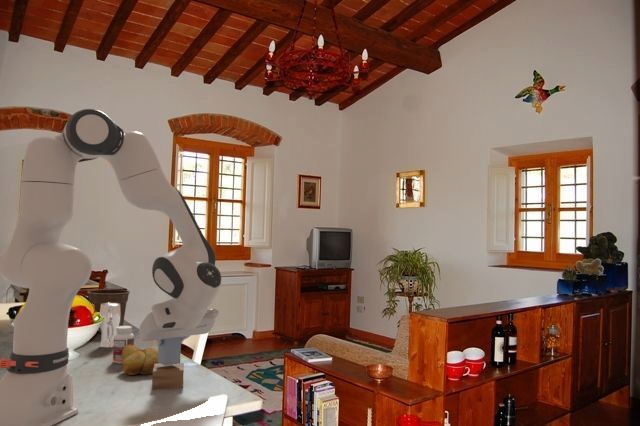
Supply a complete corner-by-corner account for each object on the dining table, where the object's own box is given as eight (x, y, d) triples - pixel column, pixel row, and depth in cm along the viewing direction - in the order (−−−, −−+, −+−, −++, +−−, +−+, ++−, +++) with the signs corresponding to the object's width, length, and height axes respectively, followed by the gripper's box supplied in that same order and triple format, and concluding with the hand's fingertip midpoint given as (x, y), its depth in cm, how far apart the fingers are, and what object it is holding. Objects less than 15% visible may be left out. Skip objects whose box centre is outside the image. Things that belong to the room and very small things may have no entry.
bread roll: (166, 367, 161) (167, 341, 161) (166, 375, 152) (167, 348, 152) (121, 369, 157) (122, 342, 158) (119, 378, 148) (120, 350, 148)
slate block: (180, 363, 144) (181, 330, 144) (164, 365, 141) (166, 332, 141) (172, 359, 147) (173, 327, 147) (157, 362, 144) (158, 329, 144)
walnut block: (182, 388, 141) (183, 370, 141) (151, 390, 139) (152, 371, 139) (183, 380, 149) (183, 362, 149) (154, 381, 147) (154, 363, 147)
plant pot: (121, 325, 225) (122, 288, 225) (134, 331, 212) (135, 292, 213) (81, 329, 215) (82, 289, 215) (92, 336, 202) (93, 294, 203)
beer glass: (98, 344, 188) (99, 303, 189) (118, 343, 191) (120, 302, 192) (98, 348, 182) (100, 305, 182) (119, 347, 185) (121, 305, 185)
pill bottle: (129, 358, 170) (130, 324, 170) (136, 362, 165) (137, 327, 166) (109, 360, 166) (111, 326, 167) (116, 365, 161) (117, 329, 162)
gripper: (216, 299, 146) (198, 329, 153) (146, 305, 133) (130, 337, 139) (224, 318, 143) (205, 347, 150) (153, 325, 129) (136, 357, 136)
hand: (168, 342), depth 144 cm, fingers open, 5 cm apart
